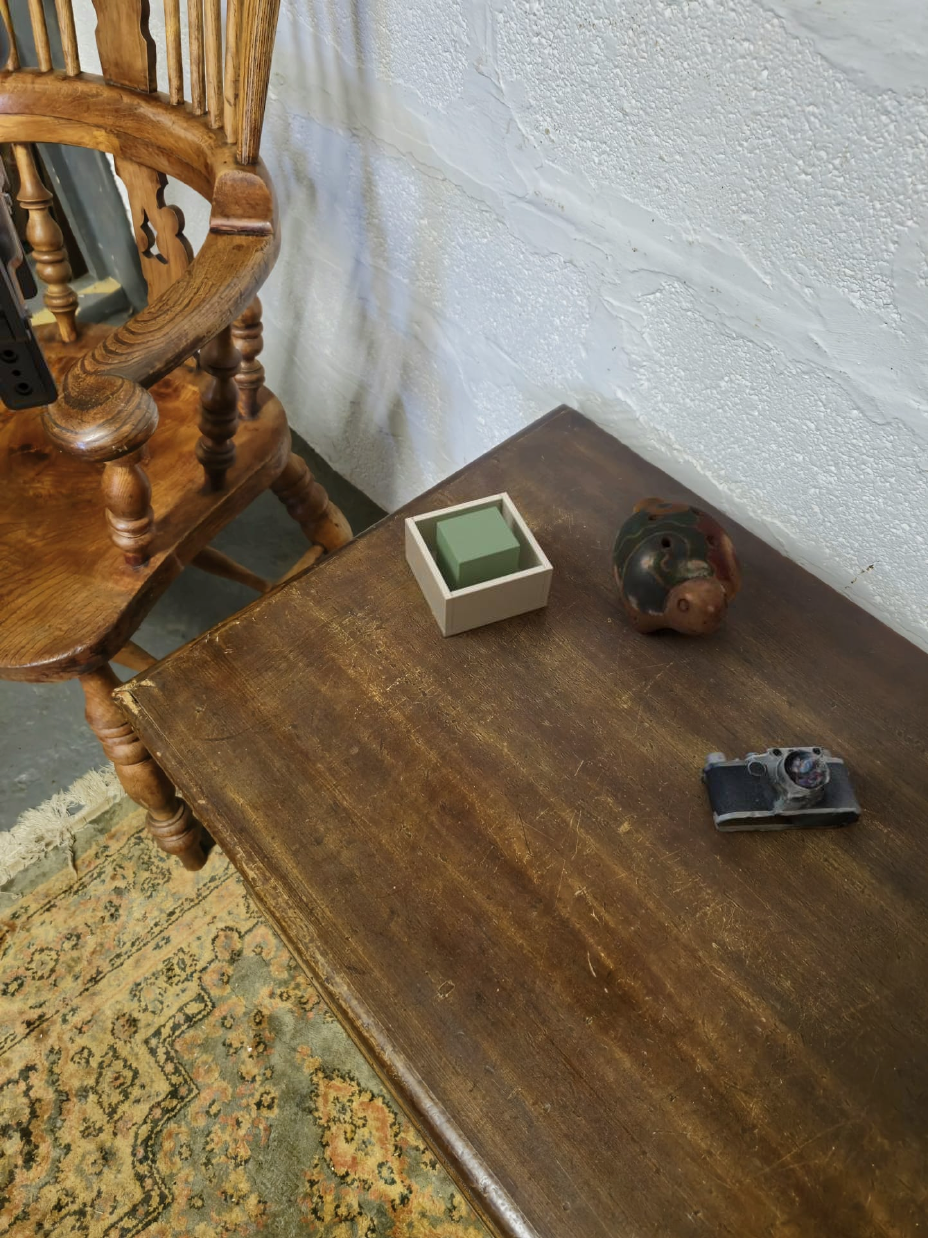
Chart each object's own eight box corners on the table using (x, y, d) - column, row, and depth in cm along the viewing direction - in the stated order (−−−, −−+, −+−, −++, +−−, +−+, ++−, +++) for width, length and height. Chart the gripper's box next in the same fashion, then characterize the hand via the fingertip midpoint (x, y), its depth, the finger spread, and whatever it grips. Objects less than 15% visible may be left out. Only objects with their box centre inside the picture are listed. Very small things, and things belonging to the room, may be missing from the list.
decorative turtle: (639, 687, 63) (655, 617, 57) (580, 547, 72) (588, 474, 66) (763, 665, 64) (791, 593, 58) (688, 530, 73) (705, 456, 67)
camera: (690, 764, 59) (706, 733, 56) (834, 760, 60) (859, 730, 56) (706, 832, 56) (725, 805, 52) (858, 828, 56) (886, 801, 53)
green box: (457, 606, 66) (459, 563, 62) (435, 565, 68) (436, 522, 64) (515, 588, 67) (520, 545, 63) (492, 549, 70) (496, 505, 66)
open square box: (444, 637, 65) (445, 600, 61) (405, 557, 70) (404, 518, 66) (546, 606, 67) (553, 568, 63) (502, 531, 72) (506, 491, 68)
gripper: (-285, -152, 29) (-69, 281, 42) (-345, -18, 21) (-57, 465, 34) (-50, -161, 31) (88, 256, 44) (-26, -41, 23) (133, 424, 36)
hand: (24, 347), depth 39 cm, fingers open, 8 cm apart
